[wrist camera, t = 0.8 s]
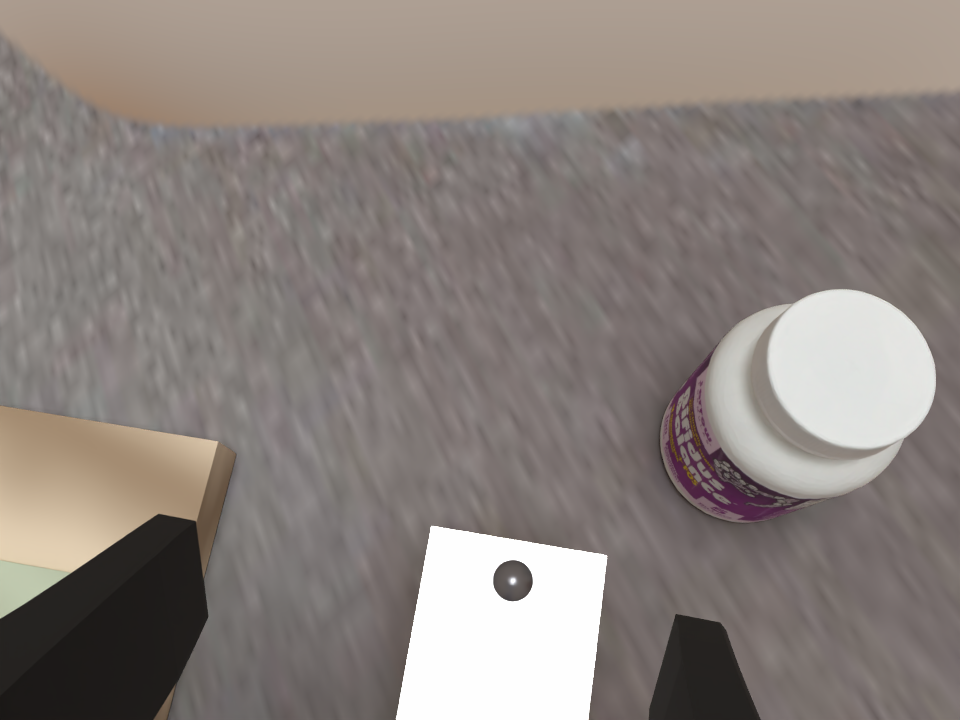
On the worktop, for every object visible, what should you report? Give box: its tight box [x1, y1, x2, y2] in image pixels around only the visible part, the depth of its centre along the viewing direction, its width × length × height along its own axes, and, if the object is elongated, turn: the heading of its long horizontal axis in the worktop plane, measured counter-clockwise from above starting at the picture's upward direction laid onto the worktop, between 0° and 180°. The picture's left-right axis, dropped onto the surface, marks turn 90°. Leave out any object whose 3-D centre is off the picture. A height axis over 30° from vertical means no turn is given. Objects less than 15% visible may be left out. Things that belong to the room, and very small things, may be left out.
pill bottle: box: [660, 289, 936, 523], centre depth 24 cm, size 5×5×10 cm
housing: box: [396, 526, 607, 720], centre depth 23 cm, size 8×4×7 cm, turn 170°
